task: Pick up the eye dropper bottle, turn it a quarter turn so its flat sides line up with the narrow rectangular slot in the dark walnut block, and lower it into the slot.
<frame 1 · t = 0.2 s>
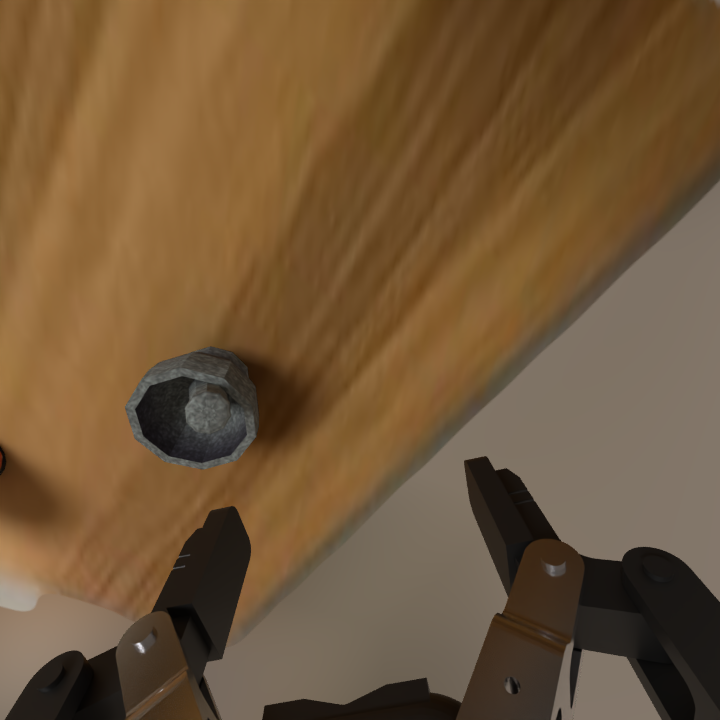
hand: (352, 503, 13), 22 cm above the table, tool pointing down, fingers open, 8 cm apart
mortar and pestle: (220, 370, 36), on the table
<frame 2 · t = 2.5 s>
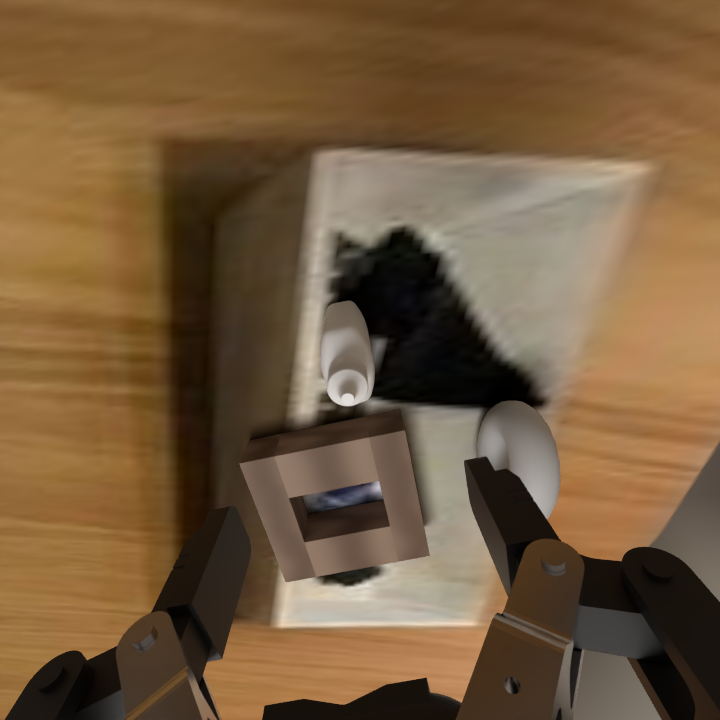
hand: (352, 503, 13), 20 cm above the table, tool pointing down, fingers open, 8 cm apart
walnut socket block: (341, 486, 38), on the table
donut: (490, 428, 36), on the table
eye dropper bottle: (347, 332, 32), on the table
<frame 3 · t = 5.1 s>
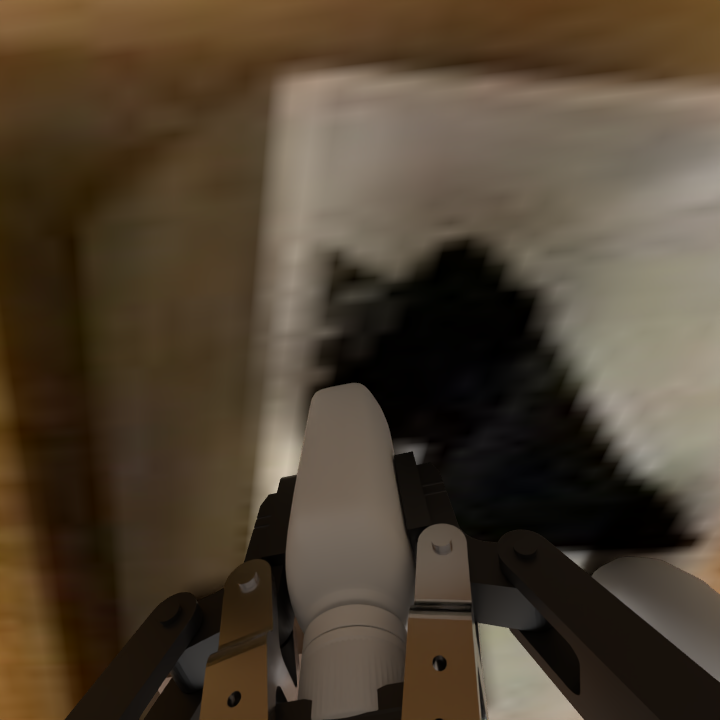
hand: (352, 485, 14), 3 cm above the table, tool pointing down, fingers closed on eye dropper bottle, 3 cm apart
donut: (598, 579, 21), on the table
eye dropper bottle: (351, 435, 17), on the table, touching gripper
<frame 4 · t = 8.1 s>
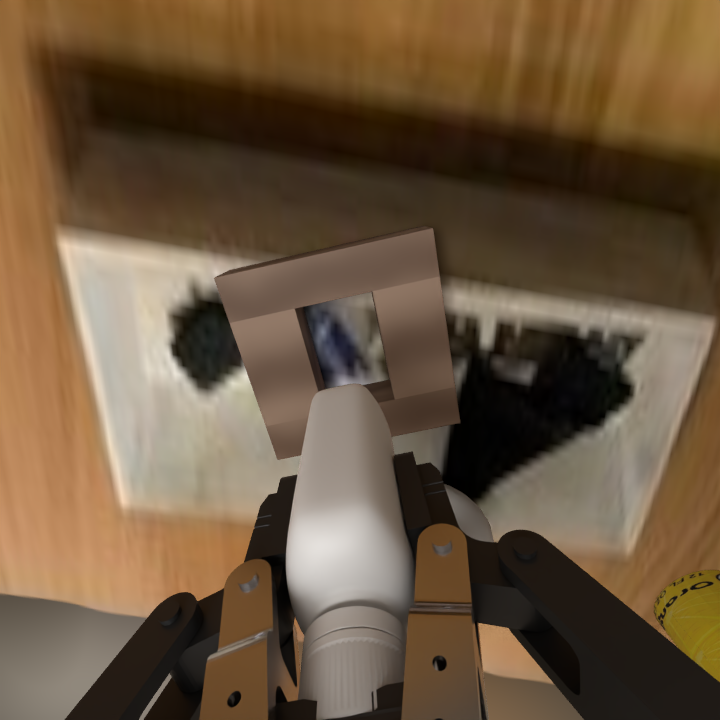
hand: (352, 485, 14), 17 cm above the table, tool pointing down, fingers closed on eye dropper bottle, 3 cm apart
walnut socket block: (347, 340, 30), on the table
donut: (416, 485, 35), on the table
beverage can: (694, 599, 42), on the table
eye dropper bottle: (351, 435, 17), point 13 cm above the table, touching gripper
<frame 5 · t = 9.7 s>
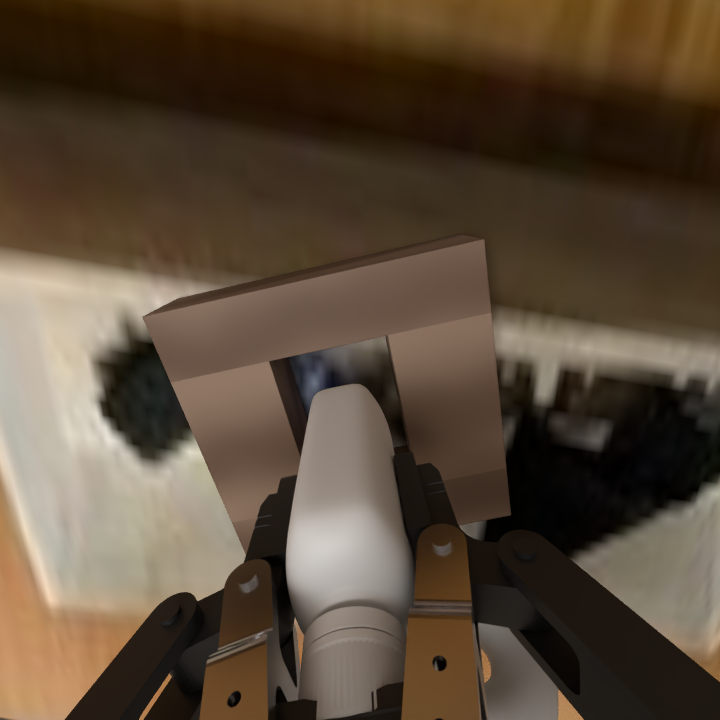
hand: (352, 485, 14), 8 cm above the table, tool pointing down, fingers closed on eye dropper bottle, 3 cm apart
walnut socket block: (348, 394, 21), on the table
donut: (440, 575, 27), on the table
eye dropper bottle: (351, 435, 17), point 4 cm above the table, touching gripper
when the fingers open (4 cm above the table, at t = 10.8 s): eye dropper bottle drops 1 cm, resting in walnut socket block.
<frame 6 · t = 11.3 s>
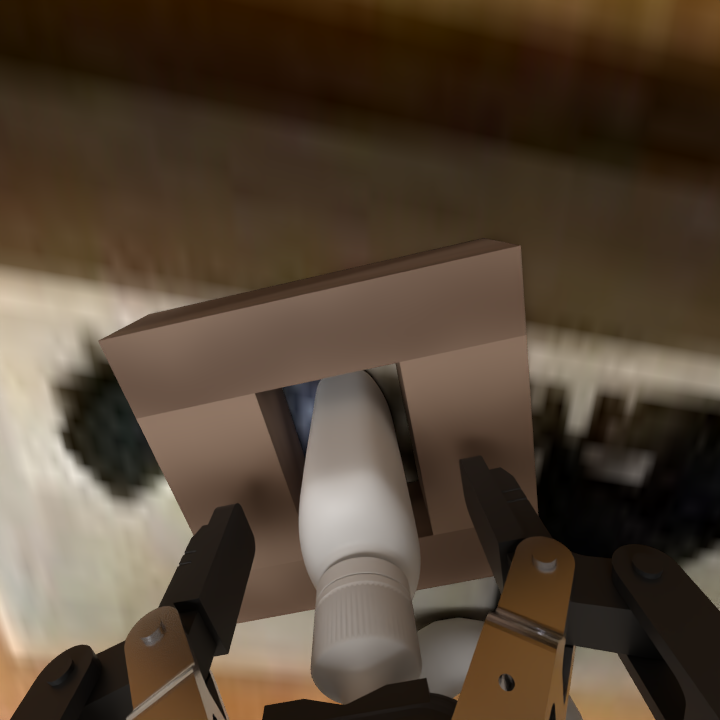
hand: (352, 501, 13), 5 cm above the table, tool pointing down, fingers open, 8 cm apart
walnut socket block: (351, 423, 18), on the table
donut: (453, 621, 24), on the table
eye dropper bottle: (355, 420, 18), resting in walnut socket block
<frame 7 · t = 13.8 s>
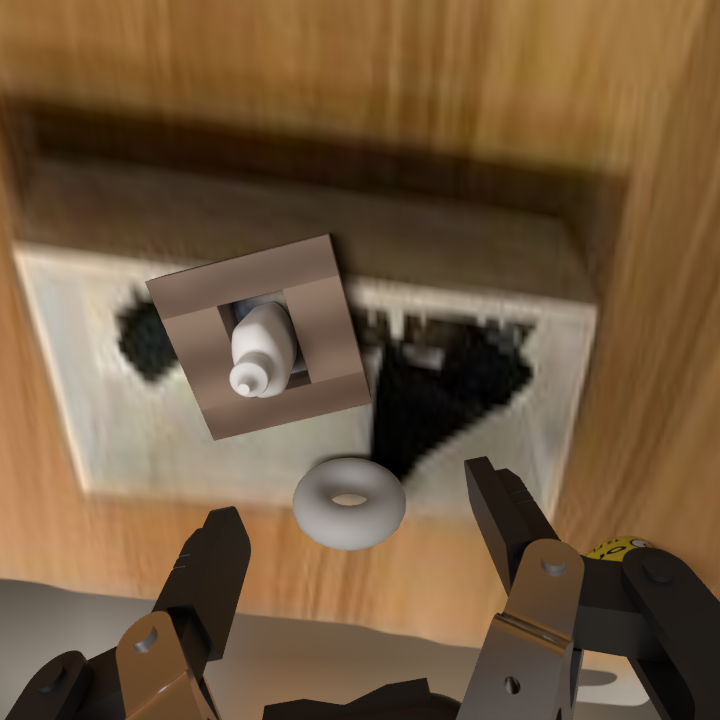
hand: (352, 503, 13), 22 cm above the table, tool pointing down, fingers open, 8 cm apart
walnut socket block: (273, 334, 34), on the table
donut: (348, 464, 39), on the table
beverage can: (616, 564, 46), on the table
eye dropper bottle: (276, 332, 34), resting in walnut socket block
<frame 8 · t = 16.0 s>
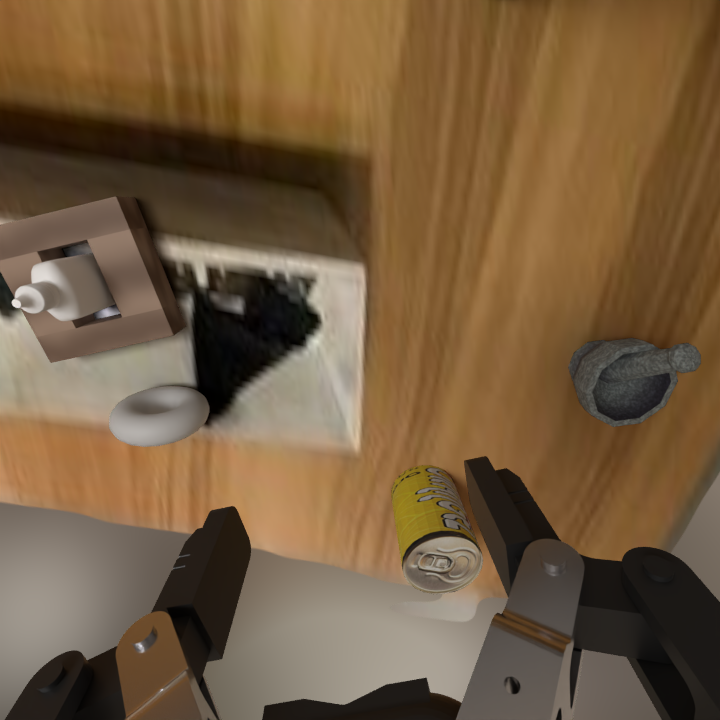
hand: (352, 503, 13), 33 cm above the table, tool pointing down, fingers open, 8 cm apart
walnut socket block: (101, 279, 43), on the table
donut: (180, 393, 48), on the table
mortar and pestle: (594, 357, 48), on the table
beverage can: (422, 491, 55), on the table
eye dropper bottle: (104, 278, 43), resting in walnut socket block
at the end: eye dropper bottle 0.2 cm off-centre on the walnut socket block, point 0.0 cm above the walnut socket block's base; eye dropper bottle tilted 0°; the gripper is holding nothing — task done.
